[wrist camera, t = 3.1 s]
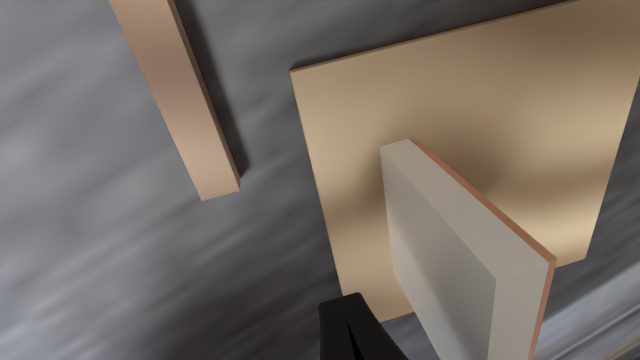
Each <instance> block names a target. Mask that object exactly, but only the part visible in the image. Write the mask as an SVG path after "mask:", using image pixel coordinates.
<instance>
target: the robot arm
mask: <svg viewBox="0 0 640 360" xmlns="http://www.w3.org/2000/svg"><path fill="white" fill-rule="evenodd" d="M318 309H319V316H320V332H321V349H320V360H409V359H408V358H407V357H406V356H405V355H404V354H403V352H402V351H401V350H400V349H399V347H398V346H397V345H396V344H395V342H394V341H393V340H392V339H391V337H390V336H389V335H388V334H387V332H386V331H385V330H384V328H383V327H382V326H381V324H380V323H379V321H378V320H377V319H376V317H375V316H374V314H373V313H372V311H371V310H370V308H369V306H368V305H367V303H366V301H365V300H364V298H363V296H362V294H361V293H359V292H356V293H352V294H349V295H346V296H342V297H339V298H336V299H333V300H329V301H326V302H323V303H321V304H320V305H319V306H318Z"/></svg>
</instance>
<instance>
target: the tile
mask: <svg viewBox="0 0 640 360" xmlns="http://www.w3.org/2000/svg"><path fill="white" fill-rule="evenodd" d="M379 148H380V157H381V166H382V174H383V183H384V192H385V201H386V210H387V219H388V227H389V236H390V245H391V254H392V263H393V272H394V274H395V276H396V278H397V280H398V281H399V283H400V285H401V287H402V289H403V291H404V293H405V294H406V296H407V298H408V300H409V302H410V304H411V306H412V307H413V309H414V311H415V313H416V315H417V317H418V319H419V321H420V322H421V324H422V326H423V328H424V330H425V332H426V334H427V335H428V337H429V339H430V341H431V343H432V345H433V347H434V348H435V350H436V352H437V354H438V356H439V358H440V360H533V357H534V352H535V348H536V344H537V340H538V336H539V332H540V328H541V324H542V319H543V315H544V311H545V307H546V303H547V299H548V295H549V290H550V286H551V282H552V278H553V274H554V270H555V266H556V261H557V258H556V257H555V256H554V255H553V254H552V253H551V252H549V251H548V250H547V249H546V248H545V247H543V246H542V245H541V244H540V243H539V242H538V241H536V240H535V239H534V238H533V237H532V236H530V235H529V234H528V233H527V232H526V231H525V230H523V229H522V228H521V227H520V226H519V225H517V224H516V223H515V222H514V221H513V220H512V219H510V218H509V217H508V216H507V215H506V214H505V213H503V212H502V211H501V210H500V209H499V208H497V207H496V206H495V205H494V204H493V203H492V202H490V201H489V200H488V199H487V198H486V197H484V196H483V195H482V194H481V193H480V192H479V191H477V190H476V189H475V188H474V187H473V186H471V185H470V184H469V183H468V182H467V181H466V180H464V179H463V178H462V177H461V176H460V175H458V174H457V173H456V172H455V171H454V170H453V169H451V168H450V167H449V166H448V165H447V164H445V163H444V162H443V161H442V160H441V159H440V158H438V157H437V156H436V155H435V154H434V153H432V152H431V151H430V150H429V149H428V148H427V147H425V146H424V145H423V144H422V143H417V144H414V143H413V142H412V141H411V140H410V139H405V140H402V141H398V142H394V143H391V144H387V145H383V146H380V147H379Z"/></svg>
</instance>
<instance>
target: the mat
mask: <svg viewBox="0 0 640 360" xmlns="http://www.w3.org/2000/svg"><path fill="white" fill-rule="evenodd" d="M289 73H290V77H291V81H292V86H293V90H294V94H295V98H296V102H297V107H298V111H299V115H300V119H301V123H302V128H303V132H304V136H305V140H306V144H307V149H308V153H309V157H310V161H311V165H312V170H313V174H314V178H315V182H316V186H317V190H318V195H319V199H320V203H321V207H322V211H323V216H324V220H325V224H326V228H327V232H328V237H329V241H330V245H331V249H332V253H333V258H334V262H335V266H336V270H337V274H338V279H339V283H340V287H341V291H342V295H343V296H346V295H349V294H352V293H356V292H359V293H361V294H362V296H363V298H364V300H365V301H366V303H367V305H368V306H369V308H370V310H371V311H372V313H373V314H374V316H375V317H376V319H377V320H378V321H379V322H383V321H386V320H389V319H392V318H396V317H399V316H402V315H405V314H408V313H412V312H415V311H414V309H413V307H412V306H411V304H410V302H409V300H408V298H407V296H406V294H405V293H404V291H403V289H402V287H401V285H400V283H399V281H398V280H397V278H396V276H395V274H394V272H393V263H392V254H391V245H390V236H389V227H388V219H387V210H386V201H385V192H384V183H383V174H382V166H381V157H380V148H379V147H380V146H383V145H387V144H391V143H394V142H398V141H402V140H405V139H410V140H411V141H412V142H413V143H414V144H417V143H422V144H423V145H424V146H425V147H427V148H428V149H429V150H430V151H431V152H432V153H434V154H435V155H436V156H437V157H438V158H440V159H441V160H442V161H443V162H444V163H445V164H447V165H448V166H449V167H450V168H451V169H453V170H454V171H455V172H456V173H457V174H458V175H460V176H461V177H462V178H463V179H464V180H466V181H467V182H468V183H469V184H470V185H471V186H473V187H474V188H475V189H476V190H477V191H479V192H480V193H481V194H482V195H483V196H484V197H486V198H487V199H488V200H489V201H490V202H492V203H493V204H494V205H495V206H496V207H497V208H499V209H500V210H501V211H502V212H503V213H505V214H506V215H507V216H508V217H509V218H510V219H512V220H513V221H514V222H515V223H516V224H517V225H519V226H520V227H521V228H522V229H523V230H525V231H526V232H527V233H528V234H529V235H530V236H532V237H533V238H534V239H535V240H536V241H538V242H539V243H540V244H541V245H542V246H543V247H545V248H546V249H547V250H548V251H549V252H551V253H552V254H553V255H554V256H555V257H556V258H557V261H556V266H555V268H556V267H559V266H563V265H566V264H569V263H572V262H575V261H579V260H582V259H585V257H586V254H587V250H588V247H589V244H590V240H591V237H592V234H593V230H594V227H595V224H596V220H597V217H598V214H599V210H600V207H601V204H602V200H603V197H604V194H605V191H606V187H607V184H608V181H609V177H610V174H611V171H612V167H613V164H614V161H615V157H616V154H617V151H618V147H619V144H620V141H621V137H622V134H623V131H624V128H625V124H626V121H627V118H628V114H629V111H630V108H631V104H632V101H633V98H634V94H635V91H636V88H637V84H638V81H639V78H640V0H570V1H566V2H562V3H558V4H554V5H550V6H546V7H542V8H538V9H534V10H530V11H526V12H522V13H518V14H514V15H509V16H505V17H501V18H497V19H493V20H489V21H485V22H481V23H477V24H473V25H469V26H465V27H461V28H457V29H453V30H449V31H445V32H441V33H437V34H433V35H429V36H425V37H421V38H417V39H413V40H409V41H405V42H401V43H397V44H393V45H389V46H385V47H381V48H377V49H373V50H369V51H365V52H361V53H357V54H353V55H349V56H345V57H341V58H337V59H333V60H329V61H325V62H321V63H317V64H313V65H309V66H305V67H301V68H297V69H293V70H289Z"/></svg>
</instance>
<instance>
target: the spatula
mask: <svg viewBox="0 0 640 360" xmlns="http://www.w3.org/2000/svg"><path fill="white" fill-rule="evenodd" d="M109 2H110V4H111V6H112V8H113V10H114V13H115V15H116V17H117V19H118V21H119V23H120V26H121V28H122V30H123V32H124V34H125V36H126V38H127V41H128V43H129V45H130V47H131V49H132V51H133V54H134V56H135V58H136V60H137V62H138V64H139V67H140V69H141V71H142V73H143V75H144V77H145V79H146V82H147V84H148V86H149V88H150V90H151V92H152V95H153V97H154V99H155V101H156V103H157V105H158V107H159V110H160V112H161V114H162V116H163V118H164V120H165V123H166V125H167V127H168V129H169V131H170V133H171V136H172V138H173V140H174V142H175V144H176V146H177V148H178V151H179V153H180V155H181V157H182V159H183V161H184V164H185V166H186V168H187V170H188V172H189V174H190V176H191V179H192V181H193V183H194V185H195V187H196V189H197V192H198V194H199V196H200V198H201V200H202V201H204V200H207V199H211V198H215V197H219V196H222V195H226V194H230V193H233V192H237V191H240V177H239V174H238V171H237V169H236V166H235V163H234V161H233V158H232V155H231V153H230V150H229V147H228V145H227V142H226V139H225V137H224V134H223V131H222V129H221V126H220V123H219V121H218V118H217V115H216V113H215V110H214V107H213V105H212V102H211V99H210V97H209V94H208V91H207V89H206V86H205V83H204V81H203V78H202V75H201V73H200V70H199V67H198V65H197V62H196V59H195V57H194V54H193V51H192V49H191V46H190V43H189V41H188V38H187V35H186V33H185V30H184V27H183V25H182V22H181V19H180V17H179V14H178V11H177V9H176V6H175V3H174V1H173V0H109Z"/></svg>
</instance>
